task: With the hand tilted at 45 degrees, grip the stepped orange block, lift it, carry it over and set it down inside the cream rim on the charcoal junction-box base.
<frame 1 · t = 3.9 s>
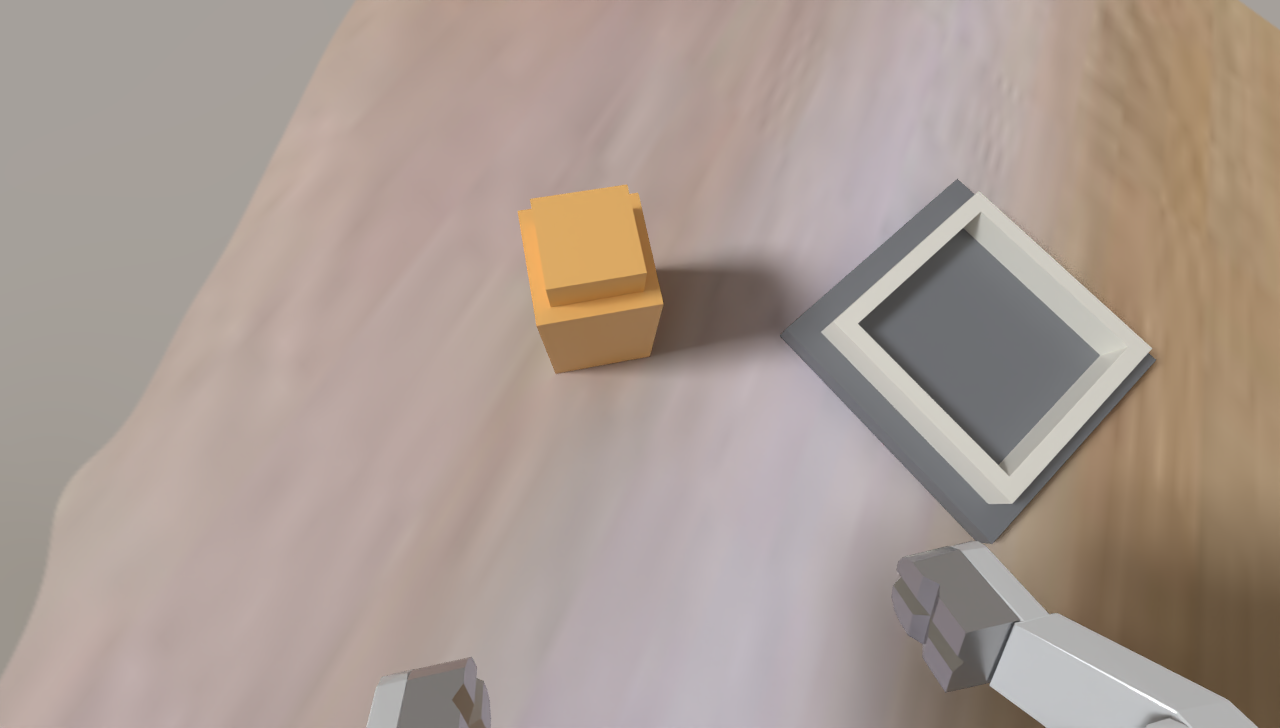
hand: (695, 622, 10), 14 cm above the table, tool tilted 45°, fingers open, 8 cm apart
stepped orange block: (594, 320, 27), on the table
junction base: (960, 350, 27), on the table
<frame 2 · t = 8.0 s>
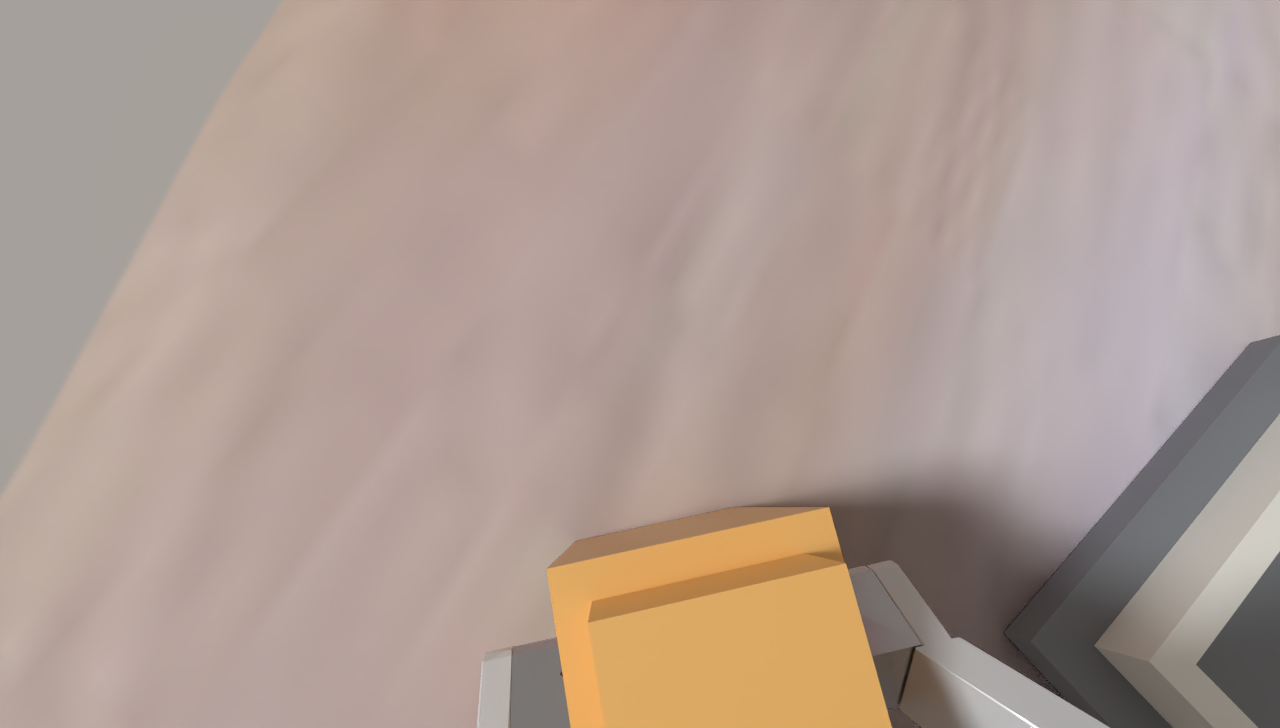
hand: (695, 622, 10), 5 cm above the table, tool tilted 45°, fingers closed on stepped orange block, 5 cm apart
stepped orange block: (673, 610, 15), on the table, touching gripper
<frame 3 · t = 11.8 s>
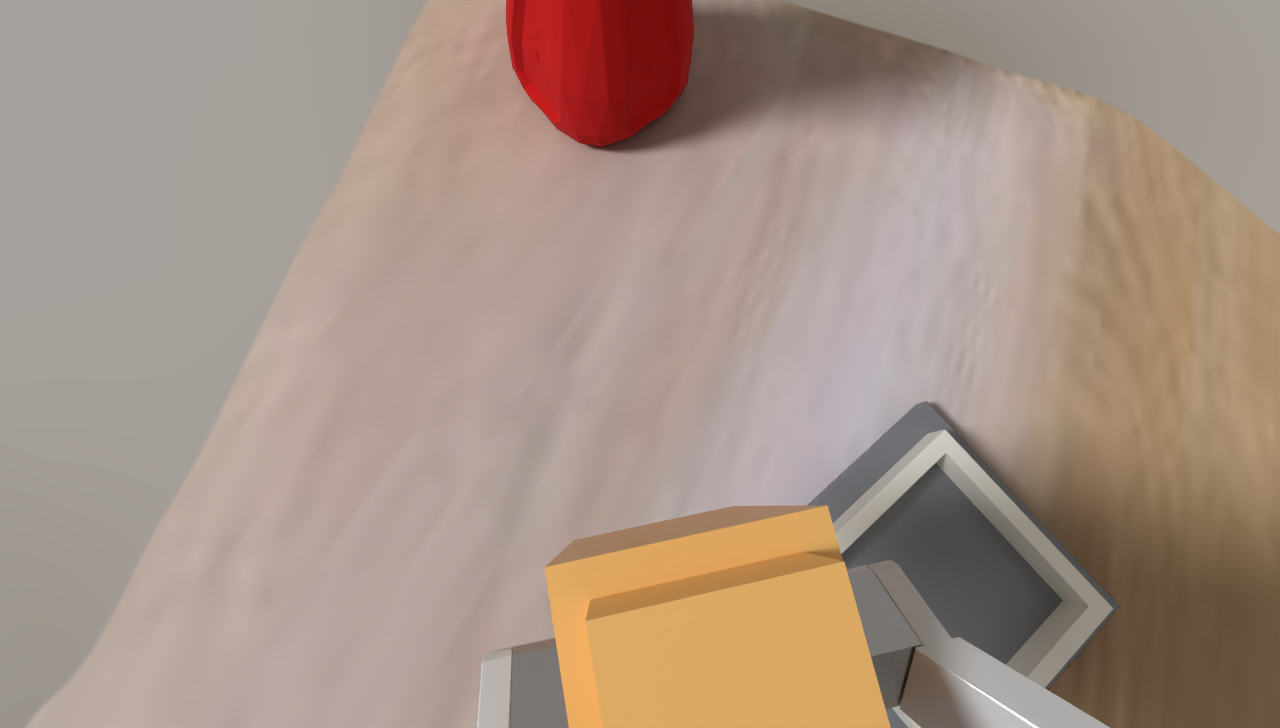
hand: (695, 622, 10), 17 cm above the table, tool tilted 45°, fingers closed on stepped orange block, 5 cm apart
stepped orange block: (672, 609, 15), point 12 cm above the table, touching gripper
water bottle: (591, 93, 34), on the table
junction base: (922, 585, 27), on the table
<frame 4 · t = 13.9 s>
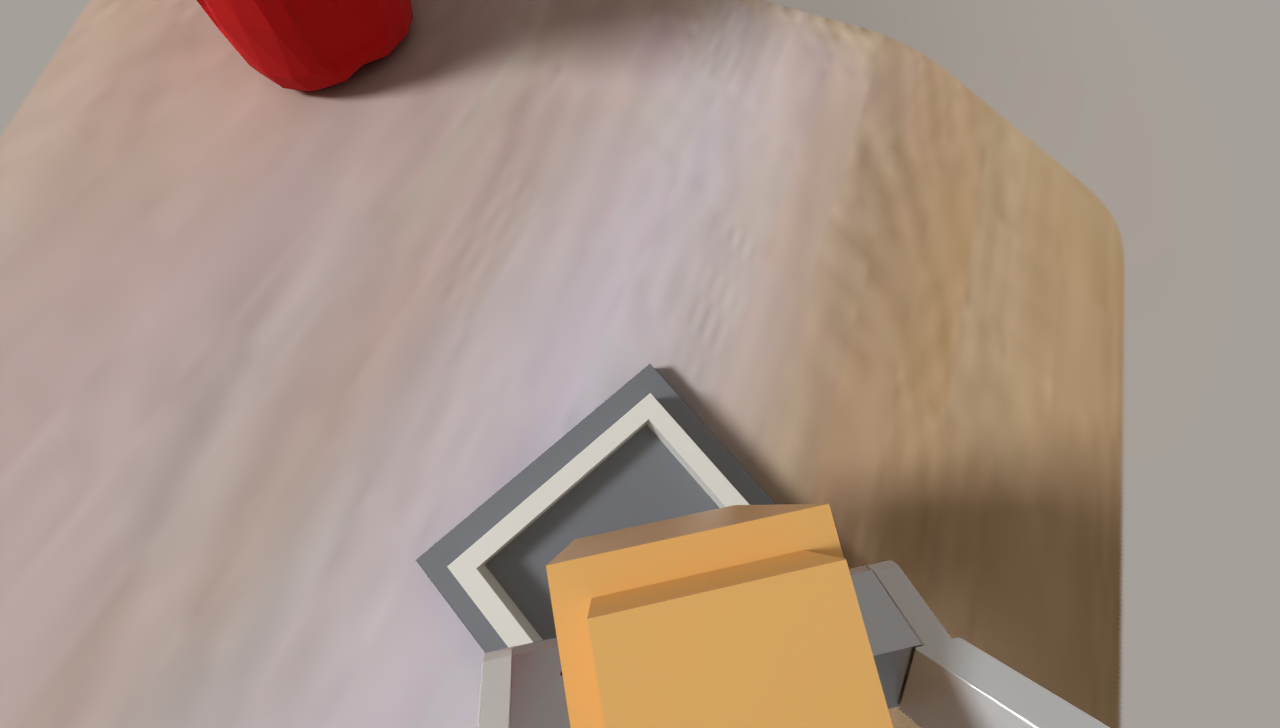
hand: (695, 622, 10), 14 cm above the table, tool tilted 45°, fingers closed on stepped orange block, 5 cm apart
stepped orange block: (673, 608, 15), point 9 cm above the table, touching gripper
water bottle: (313, 35, 30), on the table
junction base: (635, 571, 24), on the table
when the fingers open (7 cm above the table, at t = 15.8 s): stepped orange block drops 1 cm, resting on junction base.
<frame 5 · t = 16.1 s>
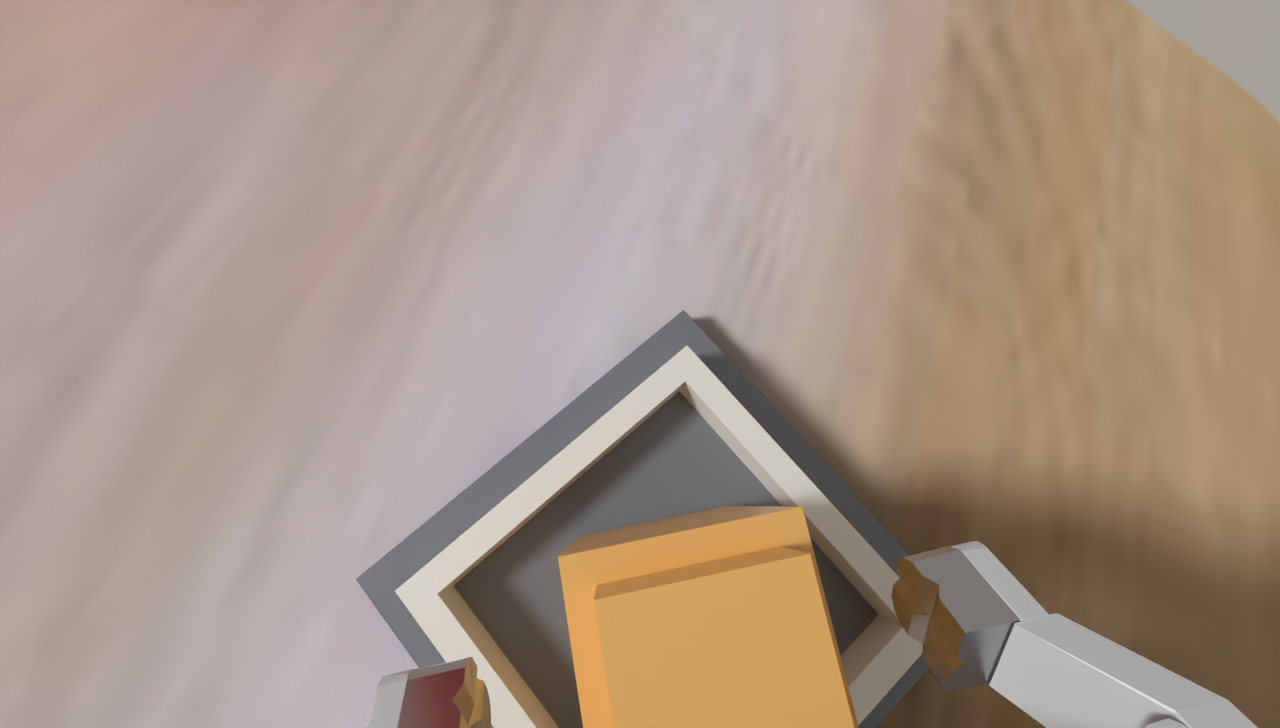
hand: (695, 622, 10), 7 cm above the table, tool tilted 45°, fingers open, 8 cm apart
stepped orange block: (669, 599, 16), point 1 cm above the table, touching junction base
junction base: (665, 594, 17), on the table
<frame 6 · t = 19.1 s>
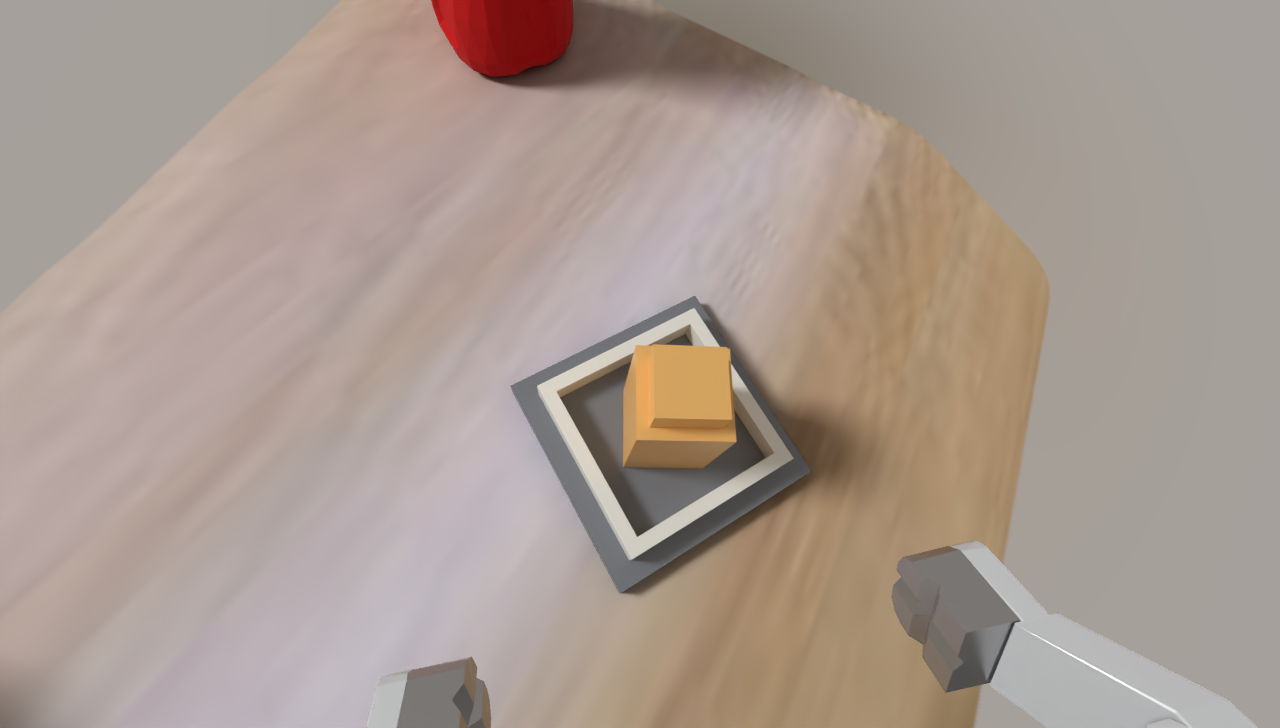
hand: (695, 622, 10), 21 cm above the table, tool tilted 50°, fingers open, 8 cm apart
stepped orange block: (662, 428, 32), point 1 cm above the table, touching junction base
water bottle: (497, 42, 43), on the table
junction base: (659, 432, 33), on the table
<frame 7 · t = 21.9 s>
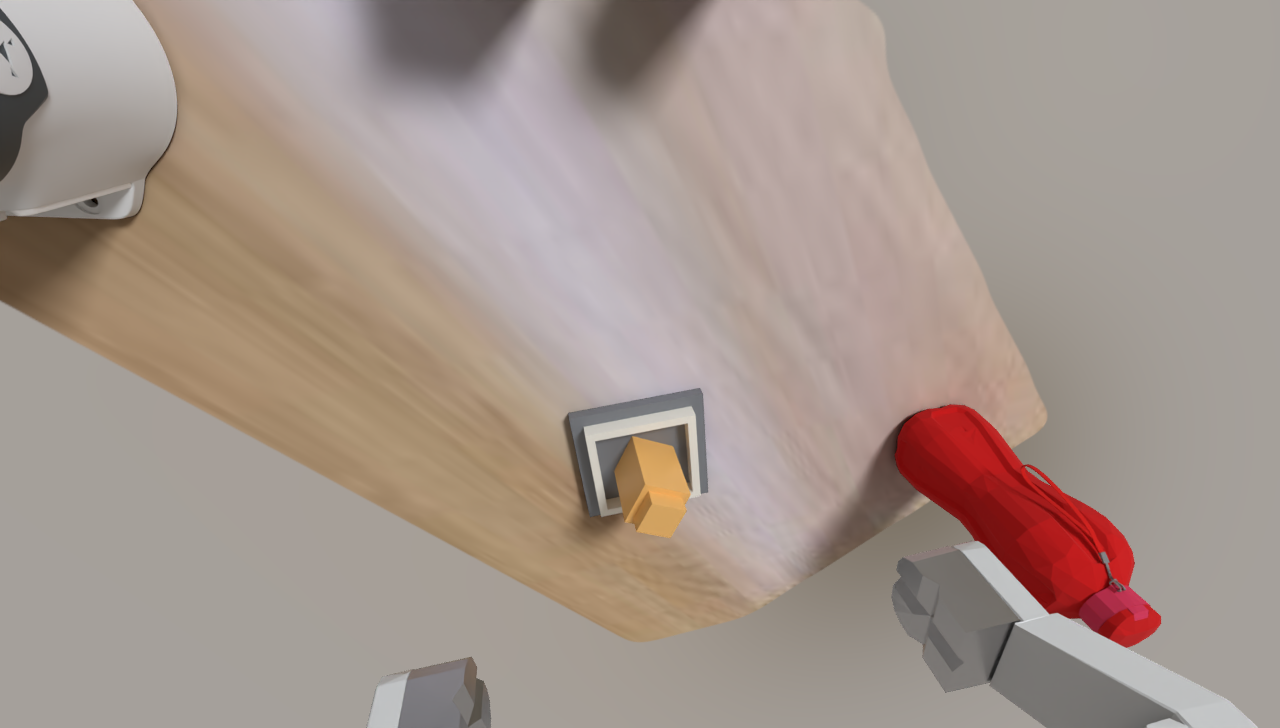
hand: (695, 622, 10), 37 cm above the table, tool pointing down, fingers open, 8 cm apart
stepped orange block: (643, 458, 55), point 1 cm above the table, touching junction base
water bottle: (929, 428, 62), on the table
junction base: (641, 452, 56), on the table
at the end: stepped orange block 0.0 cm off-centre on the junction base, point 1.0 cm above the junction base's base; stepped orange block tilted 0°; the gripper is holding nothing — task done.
